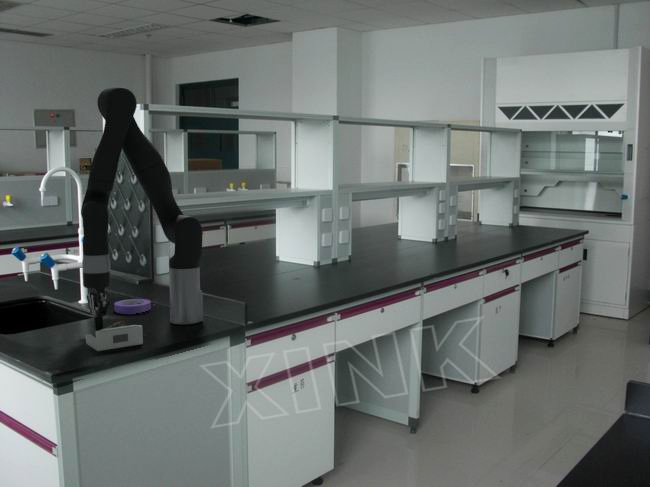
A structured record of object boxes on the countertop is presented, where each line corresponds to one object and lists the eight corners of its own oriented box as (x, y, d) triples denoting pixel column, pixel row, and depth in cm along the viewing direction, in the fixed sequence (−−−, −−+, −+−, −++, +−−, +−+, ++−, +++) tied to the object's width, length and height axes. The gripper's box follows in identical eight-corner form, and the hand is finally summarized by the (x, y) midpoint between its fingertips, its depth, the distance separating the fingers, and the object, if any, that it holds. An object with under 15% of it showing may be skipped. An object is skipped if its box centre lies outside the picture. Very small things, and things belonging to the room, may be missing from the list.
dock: (129, 336, 192) (129, 318, 192) (143, 343, 185) (142, 325, 184) (85, 343, 185) (85, 324, 184) (97, 351, 177) (97, 331, 177)
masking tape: (134, 318, 216) (133, 307, 216) (106, 315, 222) (106, 303, 221) (158, 312, 227) (158, 300, 226) (131, 308, 232) (131, 297, 232)
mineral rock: (90, 343, 189) (115, 340, 187) (87, 328, 189) (111, 324, 186) (112, 333, 199) (135, 330, 197) (109, 319, 199) (132, 315, 197)
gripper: (117, 271, 190) (119, 332, 192) (102, 266, 200) (104, 323, 202) (90, 274, 185) (92, 336, 187) (76, 268, 196) (78, 326, 198)
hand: (98, 329), depth 195 cm, fingers closed
